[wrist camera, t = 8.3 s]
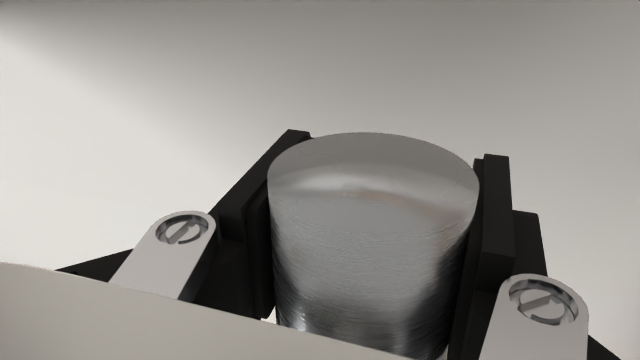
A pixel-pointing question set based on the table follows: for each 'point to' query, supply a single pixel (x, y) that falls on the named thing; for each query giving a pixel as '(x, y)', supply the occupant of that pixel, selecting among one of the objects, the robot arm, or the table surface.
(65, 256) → the table surface
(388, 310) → the steel axle
